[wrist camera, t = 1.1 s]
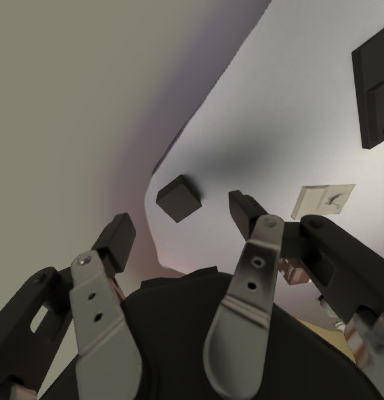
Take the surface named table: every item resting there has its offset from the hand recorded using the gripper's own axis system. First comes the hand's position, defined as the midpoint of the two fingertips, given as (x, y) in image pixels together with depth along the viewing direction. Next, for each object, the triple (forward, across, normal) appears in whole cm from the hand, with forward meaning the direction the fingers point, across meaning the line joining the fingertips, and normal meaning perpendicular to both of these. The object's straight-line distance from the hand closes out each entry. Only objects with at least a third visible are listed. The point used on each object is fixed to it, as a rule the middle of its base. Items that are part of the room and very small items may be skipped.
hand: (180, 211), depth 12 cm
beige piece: (+16, -29, +15) cm, 36 cm away
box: (+16, -22, +28) cm, 39 cm away
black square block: (+16, +1, +6) cm, 17 cm away
